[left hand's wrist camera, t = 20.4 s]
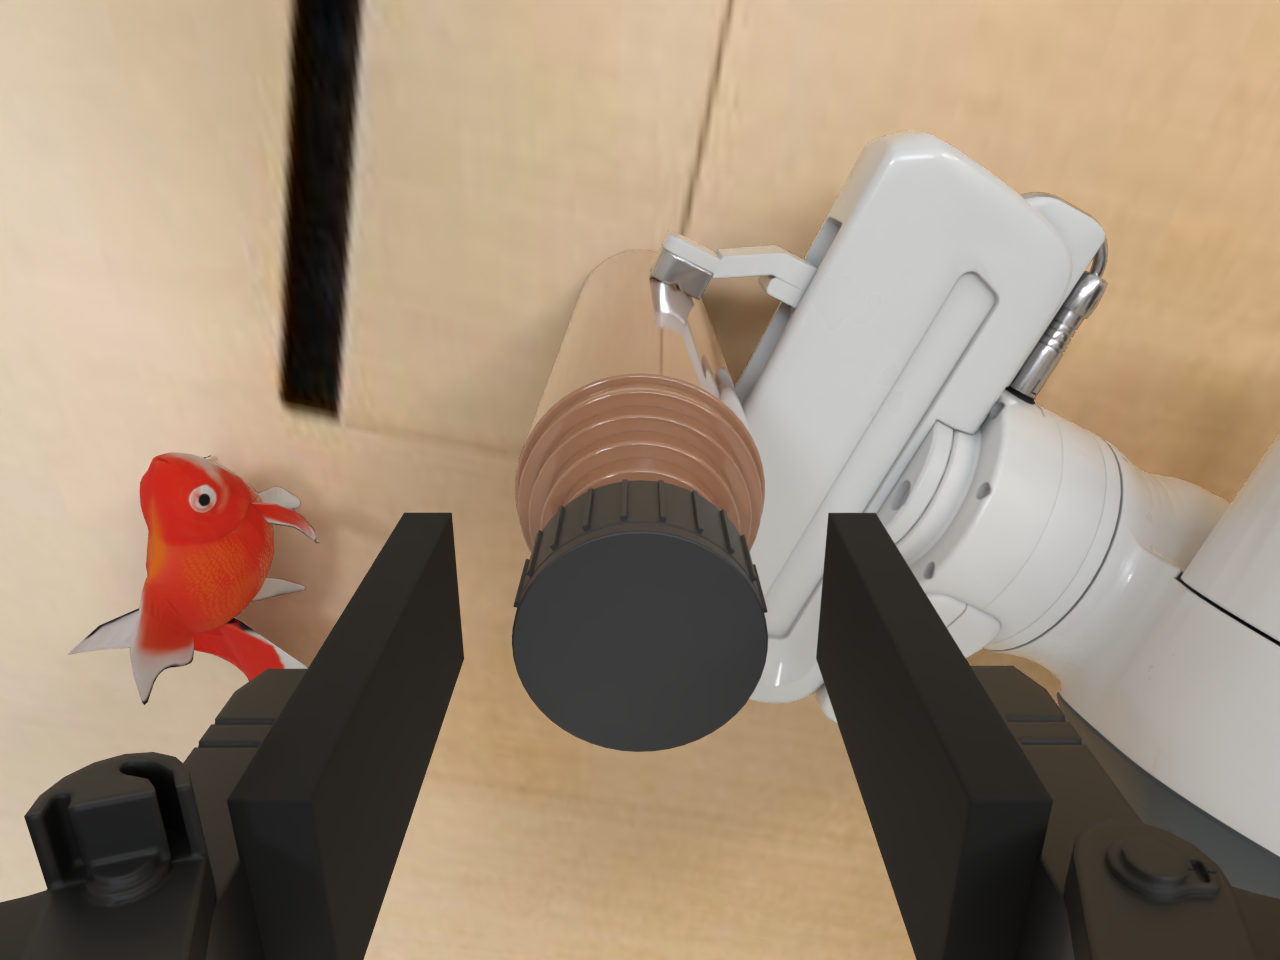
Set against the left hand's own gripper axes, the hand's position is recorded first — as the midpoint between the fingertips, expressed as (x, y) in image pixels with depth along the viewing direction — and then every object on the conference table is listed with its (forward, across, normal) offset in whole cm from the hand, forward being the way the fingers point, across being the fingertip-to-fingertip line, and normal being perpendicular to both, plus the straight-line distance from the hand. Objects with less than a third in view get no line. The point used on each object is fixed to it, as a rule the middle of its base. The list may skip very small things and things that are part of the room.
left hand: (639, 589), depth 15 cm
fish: (+23, -17, -12) cm, 31 cm away
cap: (-2, 0, 0) cm, 2 cm away
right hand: (+17, -1, 0) cm, 17 cm away
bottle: (+23, 0, 0) cm, 23 cm away
